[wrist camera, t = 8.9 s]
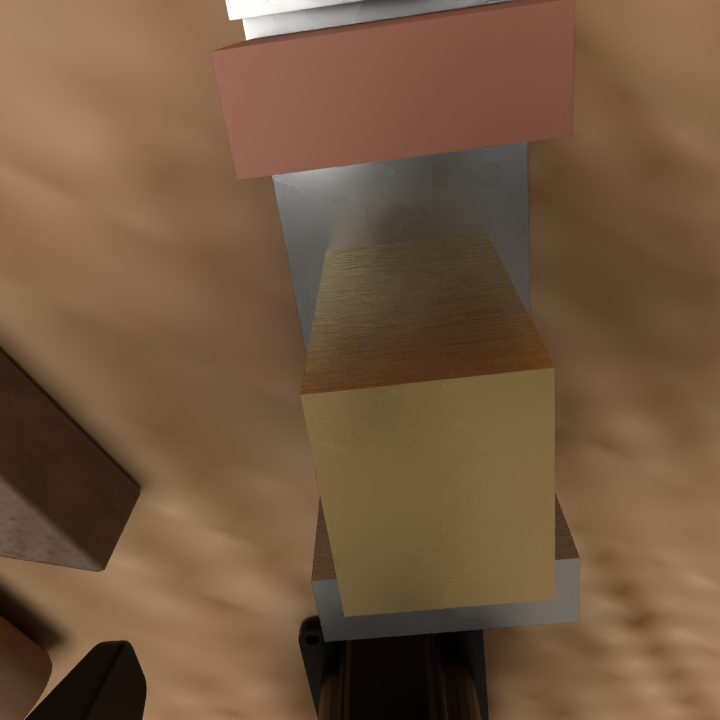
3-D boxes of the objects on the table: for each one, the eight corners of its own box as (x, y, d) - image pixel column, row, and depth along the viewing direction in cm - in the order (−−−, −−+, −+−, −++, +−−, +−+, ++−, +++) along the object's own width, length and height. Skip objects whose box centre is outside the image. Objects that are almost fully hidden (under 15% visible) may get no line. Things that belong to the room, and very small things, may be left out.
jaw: (520, 101, 15) (572, 136, 11) (270, 135, 15) (237, 179, 12) (518, -1, 14) (574, -2, 10) (253, 38, 14) (210, 51, 11)
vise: (526, 466, 21) (578, 621, 16) (336, 484, 22) (325, 642, 16) (514, -54, 15) (595, -85, 9) (244, -12, 15) (176, -20, 10)
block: (494, 404, 19) (554, 599, 13) (352, 419, 19) (344, 617, 13) (486, 232, 17) (555, 367, 10) (325, 252, 17) (300, 394, 11)
